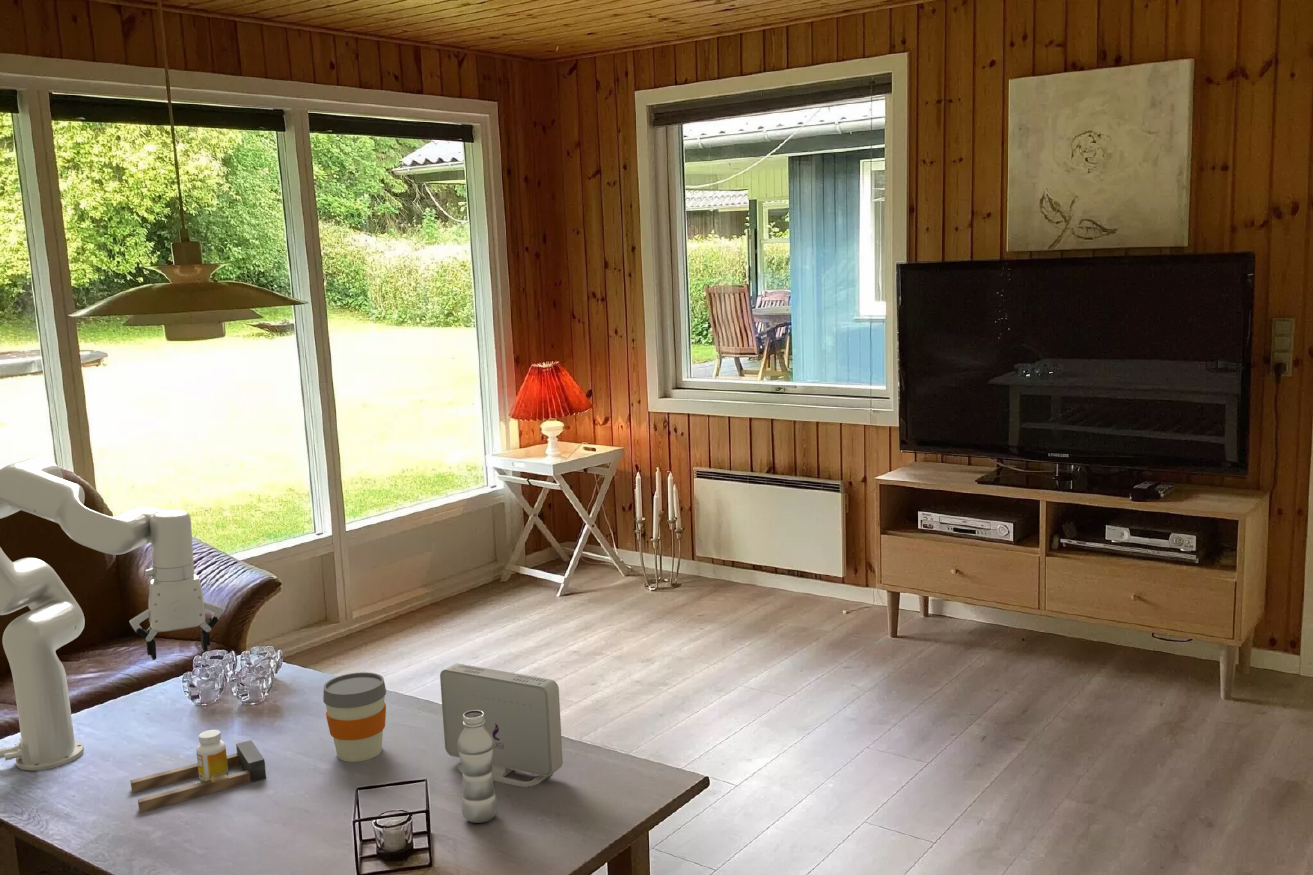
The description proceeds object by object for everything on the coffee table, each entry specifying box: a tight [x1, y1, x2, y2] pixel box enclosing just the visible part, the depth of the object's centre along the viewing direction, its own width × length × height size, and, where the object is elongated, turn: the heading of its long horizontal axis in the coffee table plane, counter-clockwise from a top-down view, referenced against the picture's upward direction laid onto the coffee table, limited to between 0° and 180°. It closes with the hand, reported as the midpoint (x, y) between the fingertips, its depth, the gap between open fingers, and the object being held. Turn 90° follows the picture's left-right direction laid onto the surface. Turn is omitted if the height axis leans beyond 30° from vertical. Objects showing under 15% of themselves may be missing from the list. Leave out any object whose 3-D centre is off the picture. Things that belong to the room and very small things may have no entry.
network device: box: [439, 663, 564, 788], centre depth 219 cm, size 26×9×20 cm, turn 62°
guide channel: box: [130, 739, 267, 813], centre depth 220 cm, size 23×11×4 cm, turn 122°
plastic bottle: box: [457, 710, 499, 824], centre depth 201 cm, size 6×7×20 cm
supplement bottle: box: [195, 729, 230, 783], centre depth 221 cm, size 5×5×10 cm
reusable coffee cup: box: [322, 671, 387, 763], centre depth 231 cm, size 13×13×15 cm
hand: (179, 653), depth 227 cm, fingers open, 9 cm apart
